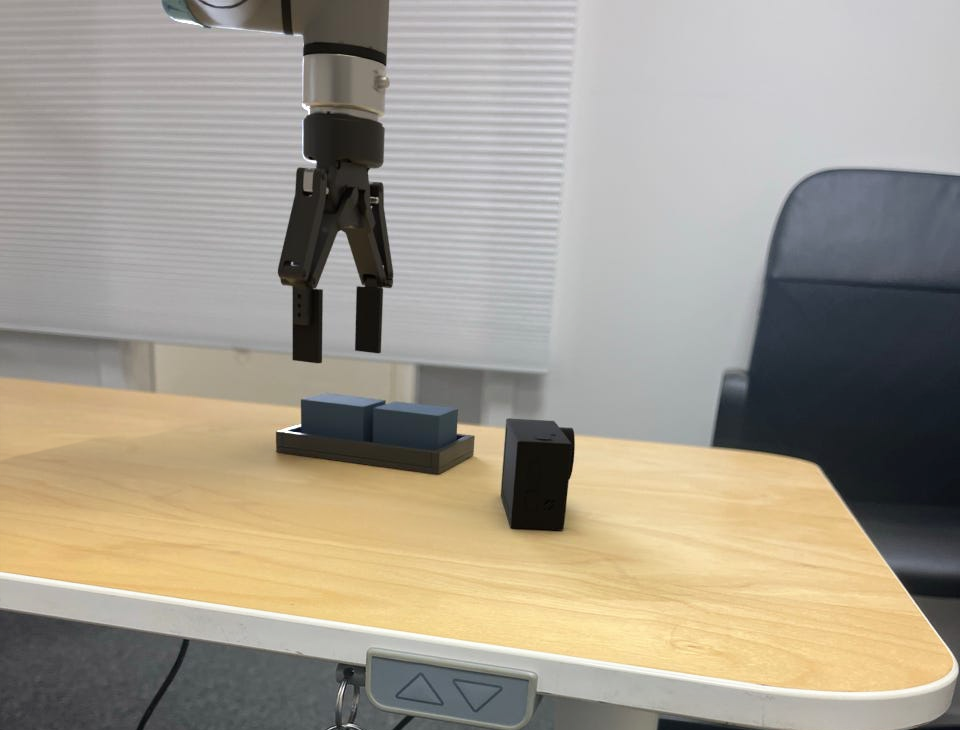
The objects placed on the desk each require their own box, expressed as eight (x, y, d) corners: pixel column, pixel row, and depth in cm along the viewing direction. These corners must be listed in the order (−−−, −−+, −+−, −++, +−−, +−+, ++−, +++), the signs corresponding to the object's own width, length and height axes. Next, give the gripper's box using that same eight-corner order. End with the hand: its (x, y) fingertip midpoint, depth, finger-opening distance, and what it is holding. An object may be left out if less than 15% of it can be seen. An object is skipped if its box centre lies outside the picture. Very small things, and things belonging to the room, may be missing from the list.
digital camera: (578, 532, 73) (588, 443, 70) (510, 529, 72) (517, 440, 70) (560, 499, 82) (568, 420, 80) (500, 496, 82) (506, 416, 79)
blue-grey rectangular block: (301, 443, 95) (300, 399, 93) (325, 435, 100) (325, 392, 98) (362, 451, 93) (363, 406, 91) (384, 443, 98) (386, 399, 96)
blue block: (372, 453, 93) (373, 407, 91) (393, 444, 97) (395, 401, 96) (437, 462, 91) (439, 415, 89) (456, 452, 96) (458, 408, 94)
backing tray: (275, 452, 93) (275, 431, 92) (324, 435, 102) (324, 416, 102) (438, 474, 88) (439, 452, 88) (473, 455, 98) (474, 435, 97)
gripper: (317, 94, 73) (314, 371, 81) (430, 137, 95) (419, 352, 103) (233, 90, 74) (239, 361, 83) (364, 134, 97) (358, 344, 105)
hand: (339, 356), depth 93 cm, fingers open, 13 cm apart
